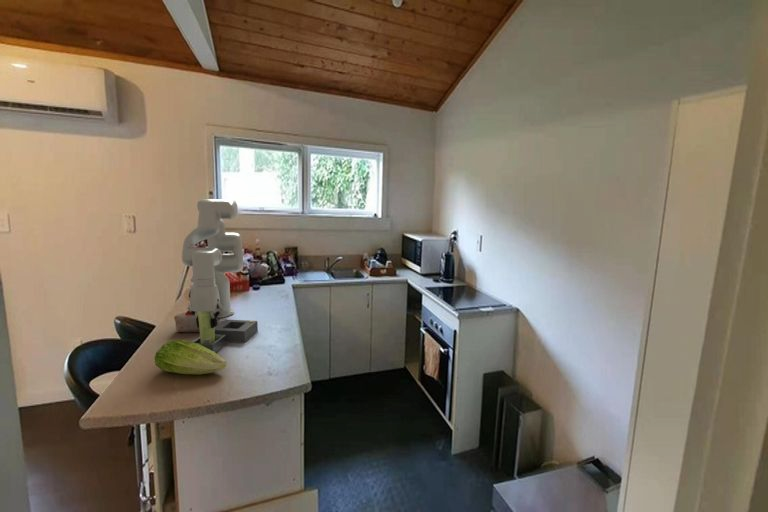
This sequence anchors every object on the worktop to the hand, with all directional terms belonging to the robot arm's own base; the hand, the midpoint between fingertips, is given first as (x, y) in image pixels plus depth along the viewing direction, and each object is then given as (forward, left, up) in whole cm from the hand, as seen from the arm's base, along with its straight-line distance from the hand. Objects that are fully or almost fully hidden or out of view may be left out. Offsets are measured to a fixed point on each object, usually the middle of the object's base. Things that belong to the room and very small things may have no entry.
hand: (207, 326), depth 141 cm
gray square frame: (0, 0, -9) cm, 9 cm away
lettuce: (+5, -19, -10) cm, 22 cm away
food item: (-18, +18, -10) cm, 27 cm away
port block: (+4, +14, -9) cm, 17 cm away
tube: (0, 0, -10) cm, 10 cm away
